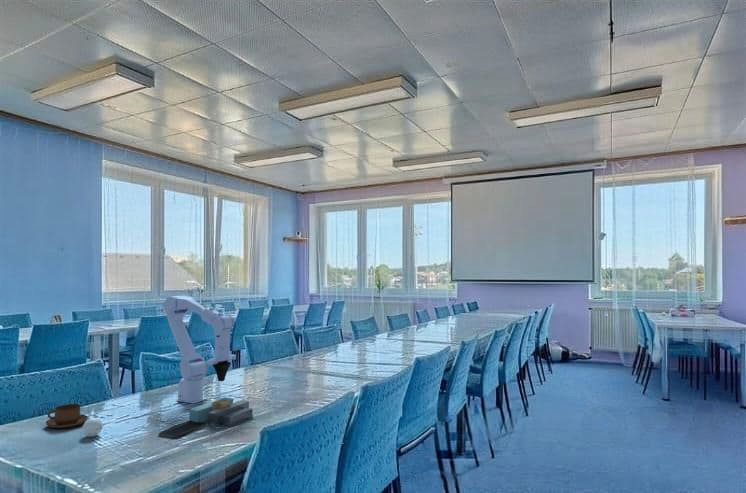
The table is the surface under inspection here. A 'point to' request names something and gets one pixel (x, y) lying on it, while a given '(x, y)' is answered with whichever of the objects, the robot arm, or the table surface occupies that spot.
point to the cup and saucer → (66, 416)
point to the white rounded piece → (92, 427)
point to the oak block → (220, 404)
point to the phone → (182, 429)
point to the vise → (230, 414)
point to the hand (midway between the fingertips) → (221, 380)
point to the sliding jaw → (203, 411)
